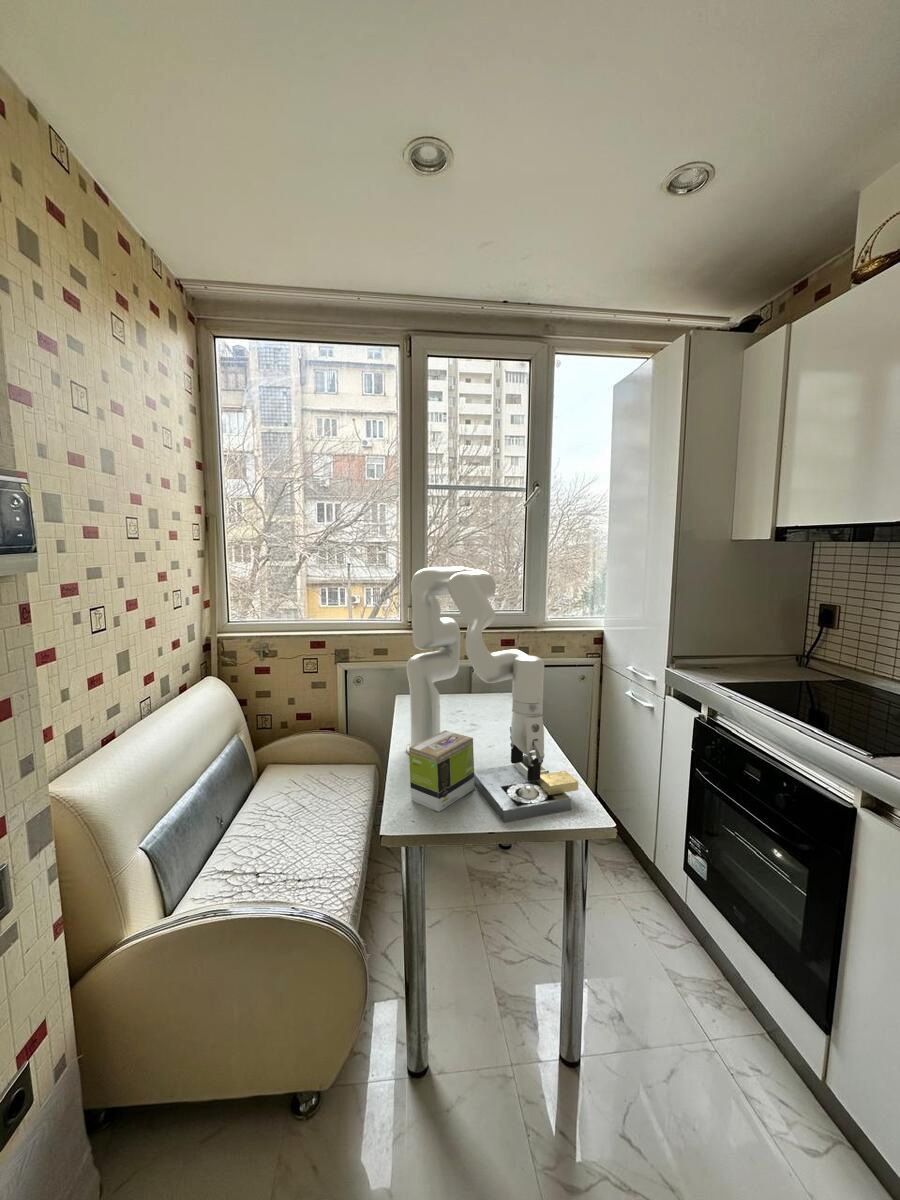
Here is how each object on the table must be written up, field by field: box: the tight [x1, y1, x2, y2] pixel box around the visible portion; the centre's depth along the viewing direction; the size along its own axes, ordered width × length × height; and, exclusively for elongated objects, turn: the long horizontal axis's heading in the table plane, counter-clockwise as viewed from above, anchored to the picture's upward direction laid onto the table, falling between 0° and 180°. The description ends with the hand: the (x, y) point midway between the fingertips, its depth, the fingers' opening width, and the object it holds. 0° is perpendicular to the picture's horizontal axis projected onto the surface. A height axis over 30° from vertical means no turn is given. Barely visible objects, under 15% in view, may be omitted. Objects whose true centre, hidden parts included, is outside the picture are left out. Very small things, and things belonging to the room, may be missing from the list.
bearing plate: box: [474, 764, 572, 823], centre depth 130 cm, size 22×18×3 cm
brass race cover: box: [538, 770, 579, 795], centre depth 127 cm, size 6×8×2 cm
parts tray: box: [513, 756, 550, 778], centre depth 136 cm, size 10×6×2 cm, turn 17°
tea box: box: [408, 730, 475, 812], centre depth 129 cm, size 15×10×15 cm
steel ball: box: [518, 785, 538, 799], centre depth 124 cm, size 5×5×5 cm
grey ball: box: [521, 754, 534, 768], centre depth 138 cm, size 4×4×4 cm
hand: (524, 771), depth 125 cm, fingers open, 9 cm apart
